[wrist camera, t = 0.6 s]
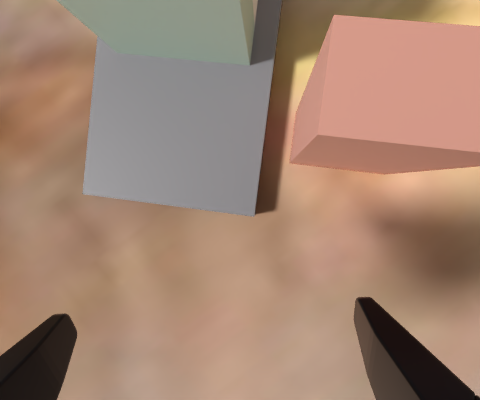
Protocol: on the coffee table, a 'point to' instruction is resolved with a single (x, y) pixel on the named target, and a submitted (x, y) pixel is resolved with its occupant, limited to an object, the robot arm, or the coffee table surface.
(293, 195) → the coffee table surface
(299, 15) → the coffee table surface
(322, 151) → the block
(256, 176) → the shelf board
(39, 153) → the coffee table surface
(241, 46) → the book row
